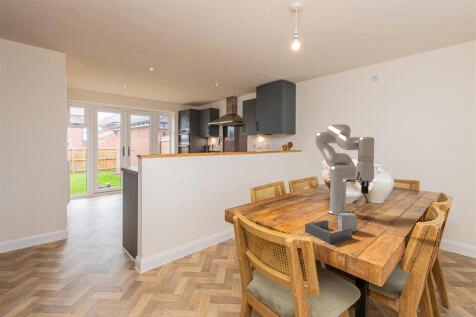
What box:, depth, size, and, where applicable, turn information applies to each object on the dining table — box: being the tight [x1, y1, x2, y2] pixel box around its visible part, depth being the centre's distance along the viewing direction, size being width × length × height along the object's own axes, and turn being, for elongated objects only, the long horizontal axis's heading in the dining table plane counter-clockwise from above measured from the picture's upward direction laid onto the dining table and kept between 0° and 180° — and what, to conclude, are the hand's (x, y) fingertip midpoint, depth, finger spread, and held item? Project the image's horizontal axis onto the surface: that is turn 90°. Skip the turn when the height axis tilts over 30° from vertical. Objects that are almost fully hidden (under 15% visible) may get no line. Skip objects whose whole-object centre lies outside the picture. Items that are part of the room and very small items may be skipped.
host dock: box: [304, 219, 353, 245], centre depth 113 cm, size 15×16×5 cm
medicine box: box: [337, 212, 358, 232], centre depth 119 cm, size 8×4×9 cm, turn 92°
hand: (364, 193), depth 124 cm, fingers closed
